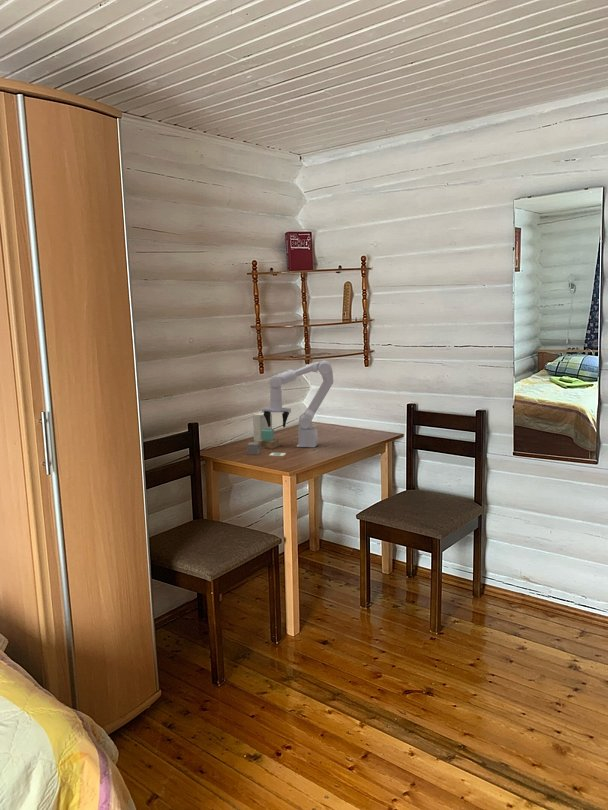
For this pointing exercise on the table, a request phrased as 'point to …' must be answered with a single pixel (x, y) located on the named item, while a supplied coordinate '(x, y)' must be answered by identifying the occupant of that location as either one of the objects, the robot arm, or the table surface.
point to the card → (277, 454)
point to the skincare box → (260, 425)
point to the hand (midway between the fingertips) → (276, 426)
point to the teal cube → (268, 435)
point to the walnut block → (269, 444)
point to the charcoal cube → (253, 448)
